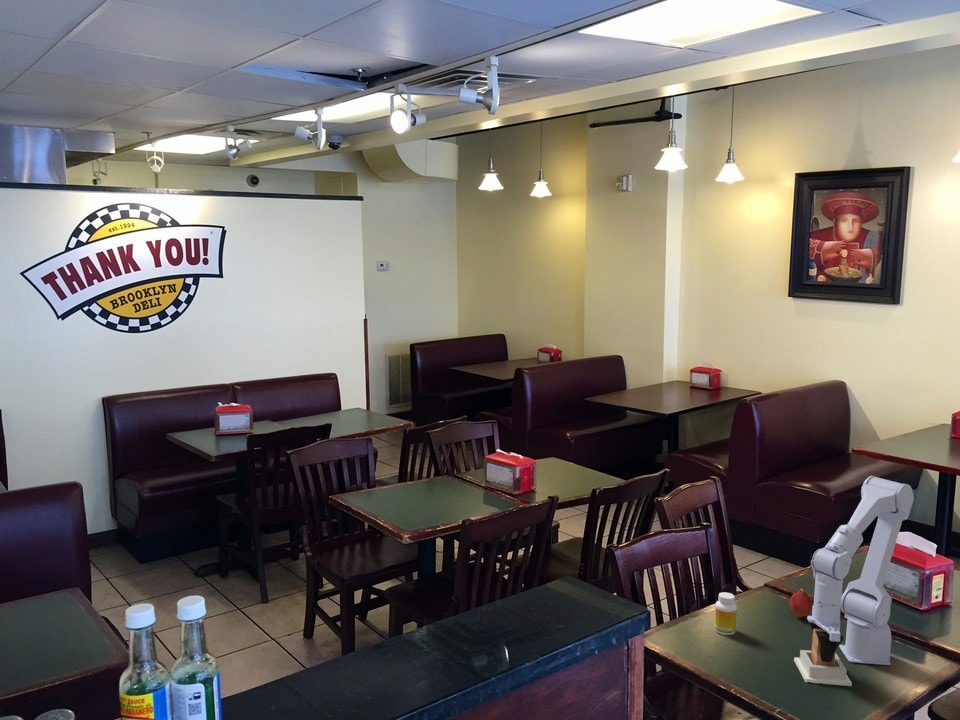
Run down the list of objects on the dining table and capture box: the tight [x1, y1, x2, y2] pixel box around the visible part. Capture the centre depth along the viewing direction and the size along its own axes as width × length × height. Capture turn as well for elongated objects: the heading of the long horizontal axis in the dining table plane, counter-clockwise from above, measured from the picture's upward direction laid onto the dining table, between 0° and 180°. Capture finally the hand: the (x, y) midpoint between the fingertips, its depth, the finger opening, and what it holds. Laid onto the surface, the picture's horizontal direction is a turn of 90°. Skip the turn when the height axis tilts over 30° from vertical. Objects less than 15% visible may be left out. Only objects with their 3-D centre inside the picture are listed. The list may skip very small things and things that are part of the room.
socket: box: [793, 649, 853, 687], centre depth 181 cm, size 10×10×3 cm
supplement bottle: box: [713, 591, 738, 636], centre depth 201 cm, size 5×5×10 cm
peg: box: [811, 628, 837, 667], centre depth 180 cm, size 4×4×8 cm
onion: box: [789, 588, 814, 618], centre depth 210 cm, size 6×6×8 cm
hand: (823, 656), depth 180 cm, fingers closed on peg, 4 cm apart
